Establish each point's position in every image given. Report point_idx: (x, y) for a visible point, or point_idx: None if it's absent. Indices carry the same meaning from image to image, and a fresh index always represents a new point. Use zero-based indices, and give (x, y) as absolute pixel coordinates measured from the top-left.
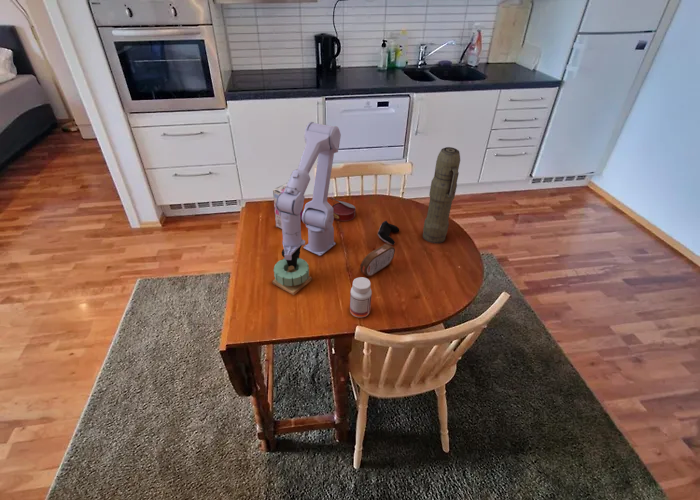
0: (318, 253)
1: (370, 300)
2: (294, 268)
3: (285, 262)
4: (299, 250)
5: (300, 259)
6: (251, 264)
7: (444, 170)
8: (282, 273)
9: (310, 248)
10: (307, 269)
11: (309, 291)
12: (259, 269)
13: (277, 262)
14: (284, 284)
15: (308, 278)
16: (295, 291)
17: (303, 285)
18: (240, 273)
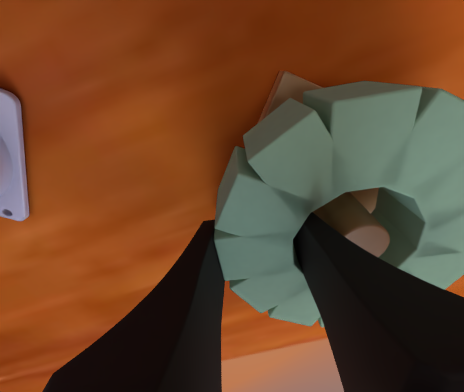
0: (5, 117)
1: None
2: (357, 219)
3: (297, 291)
4: (196, 295)
5: (234, 216)
6: (234, 332)
7: None
8: (430, 272)
9: (3, 183)
10: (390, 98)
11: (397, 45)
12: (253, 308)
13: (306, 323)
14: (368, 208)
15: (303, 90)
16: None
17: None
18: (287, 340)
